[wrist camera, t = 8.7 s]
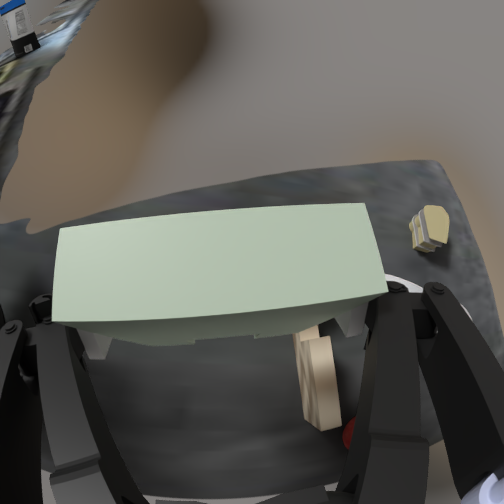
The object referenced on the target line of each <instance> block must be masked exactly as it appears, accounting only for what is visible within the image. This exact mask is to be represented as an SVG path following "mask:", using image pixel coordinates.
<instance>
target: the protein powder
mask: <svg viewBox="0 0 504 504" xmlns="http://www.w3.org/2000/svg"><path fill="white" fill-rule="evenodd" d="M0 14H1V17H2V20H3V23H4V25H5V28H6V30H7V33H8V36H9V38H10V41H11V43H12V46H13V49H14V53H15V56H16V57H20V56H23V55H26V54H28V53H30V52H32V51H34V50H36V49H38V48H40V44H39V42H38V40H37V37H36V34H35V32H34V29H33V26H32V23H31V20H30V16H29V13H28V10H27V7H26V3H25V0H12V1H10V2H8V3H6V4H5V5H3V6H1V7H0Z"/></svg>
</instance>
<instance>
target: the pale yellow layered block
mask: <svg viewBox="0 0 504 504" xmlns="http://www.w3.org/2000/svg"><path fill="white" fill-rule="evenodd" d="M409 228H410V230H411V232H412V236H413V249H416V250H419V251H422V252H426V253H428V252H430V251H432V252H434V251H435V248H436V247H437V246H438V247H442V243H445V244H447V237H448V229H449V216H448V214H447V212H446V211H445V210H444V209H443V207H441V206H431V205H426V206H425V207H424V209H422V210H420V212H419V215H415V216H414V217H413V219H412V221H411V222H410V224H409Z"/></svg>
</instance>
